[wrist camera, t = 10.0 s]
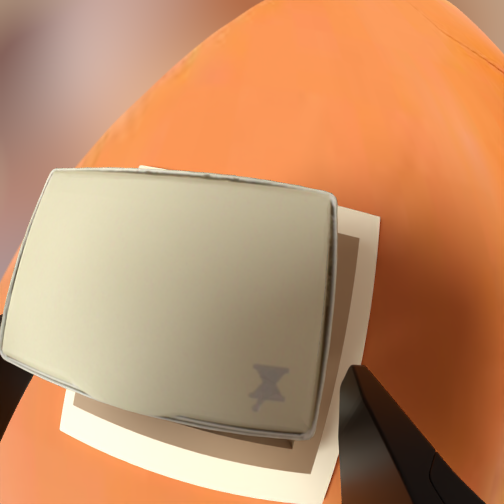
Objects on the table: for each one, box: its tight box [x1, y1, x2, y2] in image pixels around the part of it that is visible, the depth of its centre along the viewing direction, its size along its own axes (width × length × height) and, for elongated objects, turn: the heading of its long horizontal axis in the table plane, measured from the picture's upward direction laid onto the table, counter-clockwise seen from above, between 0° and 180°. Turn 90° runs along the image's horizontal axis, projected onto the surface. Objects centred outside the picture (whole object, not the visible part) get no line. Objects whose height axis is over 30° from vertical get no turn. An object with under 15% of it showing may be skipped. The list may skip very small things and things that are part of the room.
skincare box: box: [0, 167, 338, 441], centre depth 11 cm, size 6×4×12 cm
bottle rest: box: [60, 165, 380, 504], centre depth 15 cm, size 18×16×3 cm
